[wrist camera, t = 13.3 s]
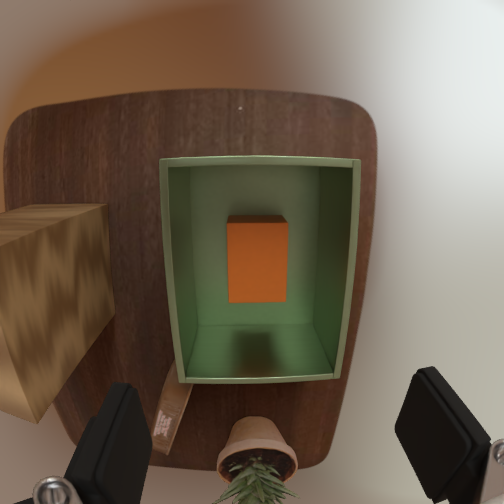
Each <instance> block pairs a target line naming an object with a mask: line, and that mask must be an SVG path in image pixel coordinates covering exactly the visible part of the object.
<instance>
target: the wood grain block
mask: <svg viewBox="0 0 504 504" xmlns="http://www.w3.org/2000/svg"><path fill="white" fill-rule="evenodd" d="M115 313H116V312H115V304H114V294H113V284H112V273H111V259H110V243H109V217H108V204H32V205H28V206H25V207H21V208H18V209H14V210H11V211H7V212H4V213H1V214H0V410H1V411H3V412H6V413H8V414H11V415H13V416H16V417H19V418H21V419H24V420H26V421H29V422H32V423H36V424H38V423H39V421H40V420H41V418H42V417H43V415H44V414H45V412H46V410H47V409H48V407H49V406H50V404H51V403H52V401H53V400H54V398H55V397H56V395H57V394H58V392H59V391H60V390H61V388H62V387H63V385H64V384H65V382H66V381H67V379H68V378H69V376H70V375H71V374H72V372H73V371H74V369H75V368H76V366H77V365H78V364H79V362H80V361H81V359H82V358H83V357H84V355H85V354H86V352H87V351H88V350H89V348H90V347H91V346H92V344H93V343H94V341H95V340H96V339H97V337H98V336H99V335H100V333H101V332H102V331H103V329H104V328H105V327H106V325H107V324H108V323H109V321H110V320H111V319H112V317H113V316H114V315H115Z"/></svg>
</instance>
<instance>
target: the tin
mask: <svg viewBox="0 0 504 504" xmlns="http://www.w3.org/2000/svg"><path fill="white" fill-rule="evenodd" d="M193 384H194V383H179V379H178V373H177V367H176V360H175V359H174V361H173V363H172V365H171V367H170V369H169V372H168V375H167V377H166V380H165V383H164V386H163V389H162V392H161V395H160V398H159V402H158V405H157V409H156V412H155V415H154V419H153V423H152V426H151V430H150V435H151V438H152V442H153V446H152V449H154V450H156V451H159V452H162V453H164V454H166V455H168V454H169V451H170V449H171V446H172V443H173V440H174V438H175V435H176V432H177V429H178V426H179V424H180V421H181V418H182V416H183V413H184V410H185V408H186V405H187V402H188V399H189V396H190V393H191V390H192V387H193Z"/></svg>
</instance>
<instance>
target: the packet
mask: <svg viewBox="0 0 504 504" xmlns="http://www.w3.org/2000/svg"><path fill="white" fill-rule="evenodd" d="M287 261H288V222H287V221H286V219H285V218H284V217H283V216H282V215H229V216H228V220H227V267H228V300H229V303H266V302H286V290H287Z"/></svg>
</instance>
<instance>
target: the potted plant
mask: <svg viewBox="0 0 504 504" xmlns="http://www.w3.org/2000/svg"><path fill="white" fill-rule="evenodd" d="M297 467H298V463H297V458H296V455H295V452H294V451H293V449H292V448H291V447H290V446H288V445H287V444H286V442H285V441H284V439H283V437H282V436H281V434H280V432H279V430H278V429H277V427H276V425H275V424H274V423H273V422H272V421H271V420H269V419H267V418H264V417H261V416H249V417H244V418H242V419H240V420H238V421H237V422H236V423H235V424H234V425H233V427H232V430H231V433H230V436H229V438H228V441H227V443H226V446H225V448H224V449H223V450H222V451H221V452H220V453H219V456H218V461H217V473H218V475H219V477H220V478H221V479H222V480H223V481H224V482H226V483H228V484H229V486H228V489H227V490H226V491H225V492H224V493H223V494H222V495H221V497H220V499H218V500H217V501H215V502H214V503H212V504H217V503H219V502H221V501H223V500H225V499H227V498H229V497H231V496H233V495H235V494H237V493H239V492H240V493H239V494H238V495H237V496H236V497H235V499H234V500H233V502H232V504H233V503H235V502H237V501H239V503H238V504H275V502H274V501H273V499H274V500H276V501H278V502H279V503H280V504H283V503H282V502H281V500H280V499H279V498H283V499H286V497H285V496H284V495H283V494H282V493H286V494H289V495H292V496H294V497H297V498H300V497H299V496H298V495H296V494H295V493H293V492H292V491H290V490H288V489H286V488H284V487H285V485H284V482H286V481H288V480H289V479H291V478H292V477H293V476H294V474H295V473H296V471H297Z"/></svg>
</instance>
